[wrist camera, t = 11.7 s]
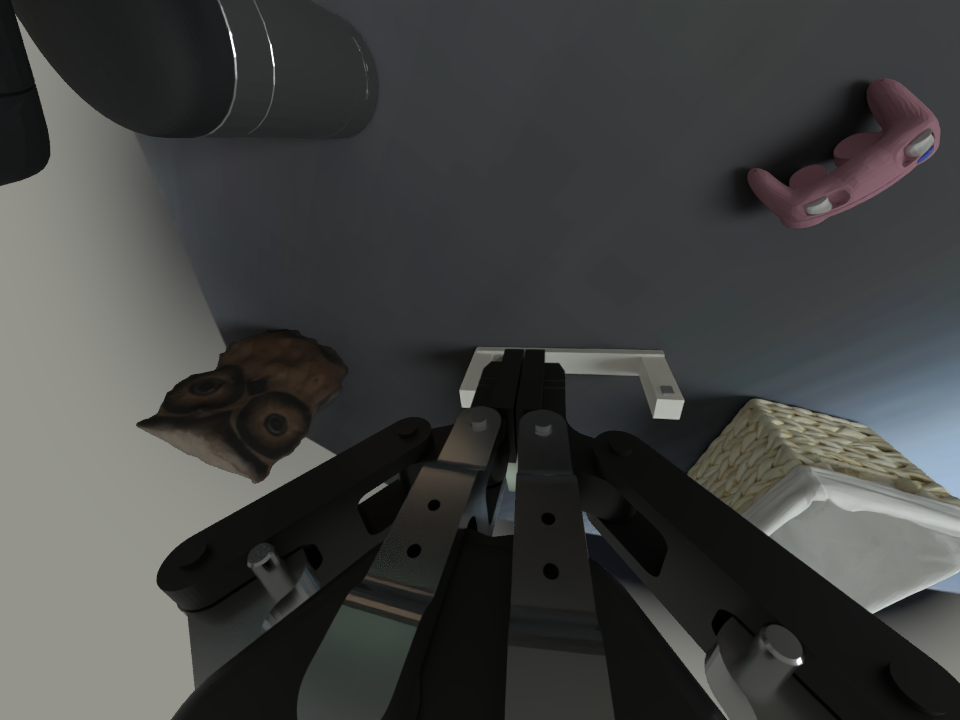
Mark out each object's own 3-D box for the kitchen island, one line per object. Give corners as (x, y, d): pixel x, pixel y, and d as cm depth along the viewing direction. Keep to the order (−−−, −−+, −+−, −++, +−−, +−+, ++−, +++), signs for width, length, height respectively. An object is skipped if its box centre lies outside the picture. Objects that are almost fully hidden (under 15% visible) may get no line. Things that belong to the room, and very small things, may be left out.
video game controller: (749, 206, 33) (802, 249, 29) (738, 172, 30) (794, 214, 26) (882, 116, 28) (969, 152, 24) (883, 66, 25) (982, 96, 21)
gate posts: (477, 366, 47) (462, 409, 39) (475, 346, 45) (458, 387, 38) (657, 371, 42) (678, 422, 35) (662, 350, 40) (685, 397, 33)
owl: (256, 324, 50) (106, 415, 34) (329, 314, 47) (203, 410, 30) (296, 394, 57) (186, 500, 40) (364, 390, 53) (275, 504, 37)
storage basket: (756, 531, 53) (815, 649, 41) (650, 502, 54) (676, 608, 42) (885, 418, 40) (1029, 543, 28) (741, 382, 41) (818, 486, 29)
